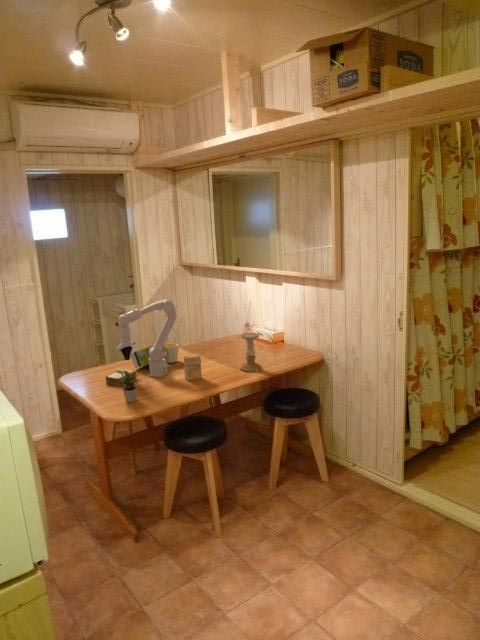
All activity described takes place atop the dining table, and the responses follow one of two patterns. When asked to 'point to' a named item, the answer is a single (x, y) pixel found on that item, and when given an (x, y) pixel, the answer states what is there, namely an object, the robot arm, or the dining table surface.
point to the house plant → (129, 387)
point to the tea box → (144, 356)
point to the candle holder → (250, 353)
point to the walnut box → (117, 381)
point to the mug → (171, 352)
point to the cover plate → (119, 373)
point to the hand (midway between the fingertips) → (127, 359)
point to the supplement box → (192, 367)
